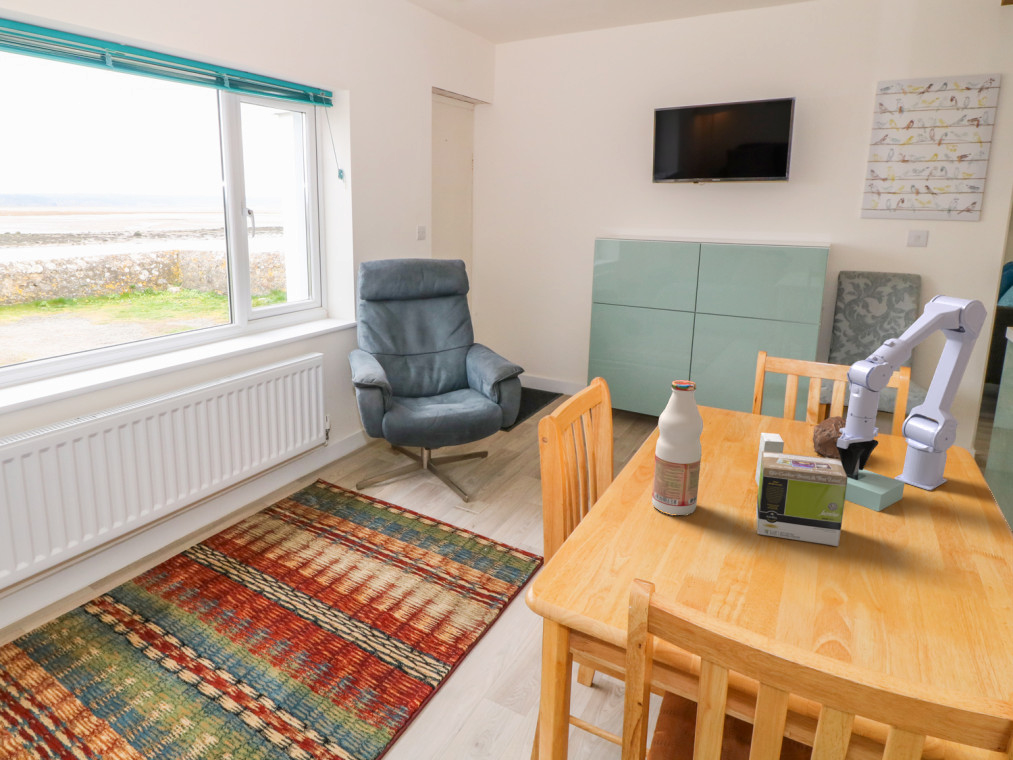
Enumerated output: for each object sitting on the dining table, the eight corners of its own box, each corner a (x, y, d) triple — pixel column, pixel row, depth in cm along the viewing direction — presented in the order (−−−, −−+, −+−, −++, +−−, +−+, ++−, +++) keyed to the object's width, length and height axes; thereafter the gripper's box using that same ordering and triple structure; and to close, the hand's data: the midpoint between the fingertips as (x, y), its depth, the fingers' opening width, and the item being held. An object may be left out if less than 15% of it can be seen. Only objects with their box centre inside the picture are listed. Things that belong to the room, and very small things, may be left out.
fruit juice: (657, 517, 138) (667, 389, 130) (646, 497, 147) (655, 376, 140) (701, 517, 138) (714, 389, 131) (688, 497, 147) (699, 376, 140)
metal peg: (846, 487, 154) (849, 448, 152) (859, 490, 151) (862, 450, 149) (840, 490, 152) (843, 450, 150) (853, 493, 149) (856, 453, 148)
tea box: (832, 525, 135) (842, 458, 132) (838, 548, 126) (849, 477, 122) (754, 513, 140) (762, 448, 136) (755, 535, 131) (763, 466, 127)
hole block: (824, 472, 162) (826, 457, 161) (901, 498, 148) (904, 482, 147) (799, 483, 155) (802, 467, 154) (878, 511, 141) (881, 494, 140)
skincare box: (778, 491, 151) (784, 442, 148) (758, 489, 152) (764, 440, 149) (773, 480, 157) (779, 433, 153) (754, 479, 157) (760, 432, 154)
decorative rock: (815, 443, 182) (820, 408, 179) (860, 452, 175) (866, 416, 173) (804, 457, 171) (809, 421, 169) (852, 467, 165) (858, 430, 162)
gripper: (859, 404, 154) (851, 458, 158) (827, 415, 146) (819, 472, 149) (891, 412, 148) (881, 468, 152) (859, 424, 140) (850, 483, 144)
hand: (852, 471), depth 150 cm, fingers open, 4 cm apart
